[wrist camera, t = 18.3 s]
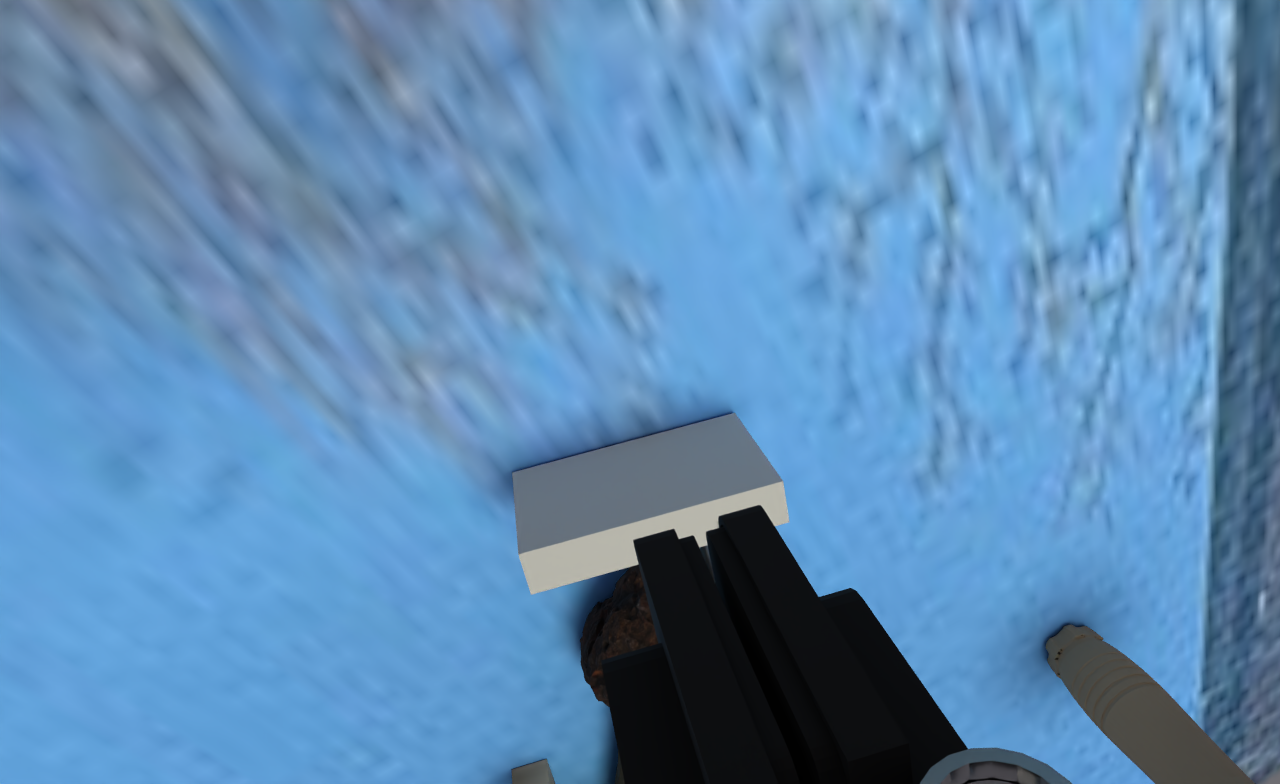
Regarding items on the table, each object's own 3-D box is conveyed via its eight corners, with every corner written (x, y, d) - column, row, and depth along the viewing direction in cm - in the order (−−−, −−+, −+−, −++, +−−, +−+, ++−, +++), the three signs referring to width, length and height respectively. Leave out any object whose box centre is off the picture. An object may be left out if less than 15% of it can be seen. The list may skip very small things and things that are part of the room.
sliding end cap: (558, 621, 43) (571, 721, 36) (512, 472, 39) (518, 554, 33) (761, 563, 44) (809, 651, 37) (734, 412, 40) (783, 481, 34)
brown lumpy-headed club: (686, 778, 49) (709, 863, 44) (572, 789, 48) (582, 878, 43) (711, 520, 43) (741, 585, 37) (580, 525, 41) (592, 594, 36)
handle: (1011, 682, 51) (1208, 916, 37) (1054, 595, 49) (1278, 808, 35) (1077, 688, 52) (1290, 916, 38) (1121, 602, 50) (1364, 812, 36)
